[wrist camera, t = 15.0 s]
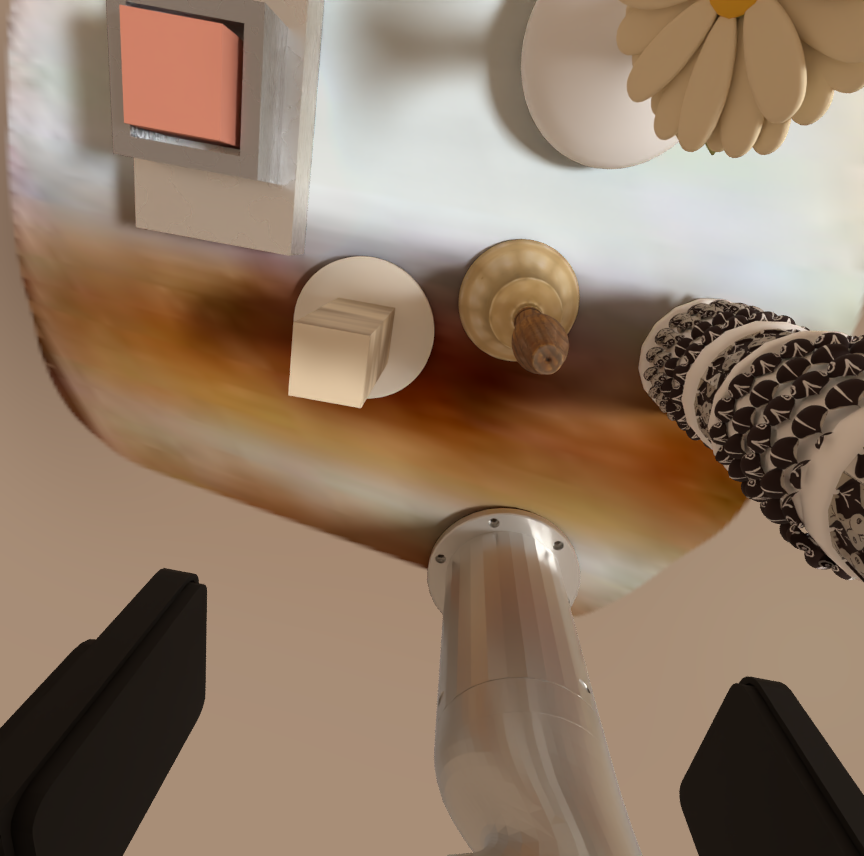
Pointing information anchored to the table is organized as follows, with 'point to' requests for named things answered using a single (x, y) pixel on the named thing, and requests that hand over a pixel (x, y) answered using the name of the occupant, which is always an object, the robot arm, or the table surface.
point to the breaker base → (260, 132)
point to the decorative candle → (771, 416)
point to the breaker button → (181, 76)
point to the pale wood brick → (340, 351)
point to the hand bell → (521, 304)
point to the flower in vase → (685, 73)
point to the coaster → (380, 287)
